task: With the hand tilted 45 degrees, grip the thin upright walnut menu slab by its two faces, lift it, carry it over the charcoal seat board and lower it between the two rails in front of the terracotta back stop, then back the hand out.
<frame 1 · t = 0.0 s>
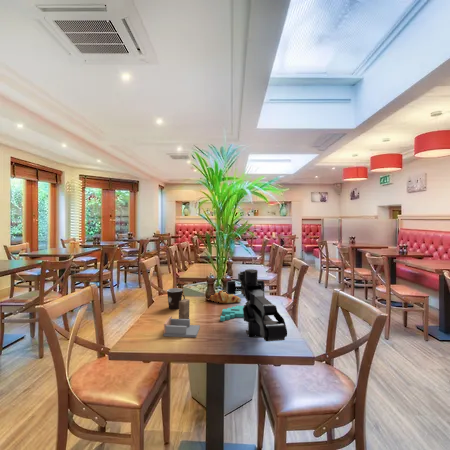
hand: (241, 283, 149), 17 cm above the table, tool horizontal, fingers open, 9 cm apart
croissant: (223, 302, 173), on the table
coffee mug: (175, 308, 158), on the table
seat: (182, 331, 126), on the table
alien figure: (241, 316, 149), on the table
menu block: (183, 323, 136), on the table
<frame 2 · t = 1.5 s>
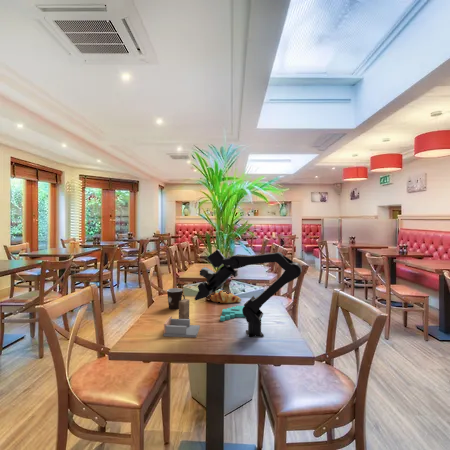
hand: (199, 297, 133), 13 cm above the table, tool tilted 45°, fingers open, 9 cm apart
nothing on the table moved.
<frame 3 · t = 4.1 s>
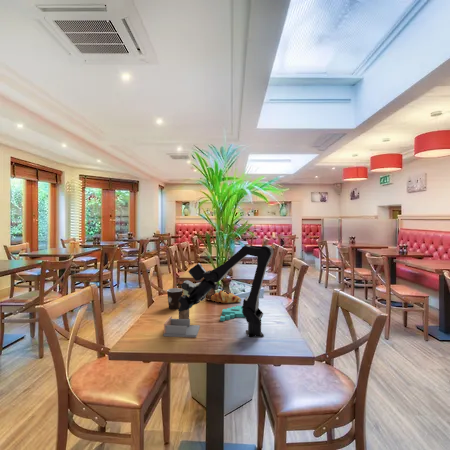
hand: (181, 309, 136), 7 cm above the table, tool tilted 45°, fingers closed on menu block, 5 cm apart
menu block: (183, 323, 136), on the table, touching gripper
everything else where it was.
when the fingers open (8 cm above the table, at t = 8.1 s): menu block stays where it is, resting on seat.
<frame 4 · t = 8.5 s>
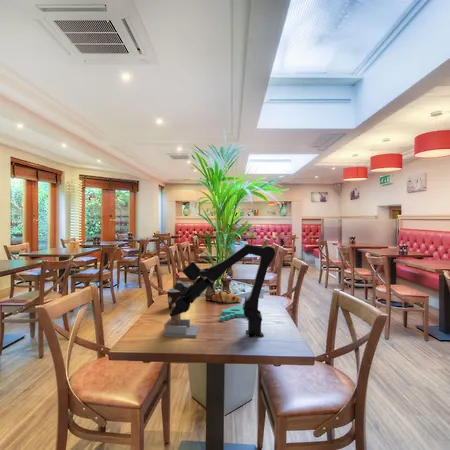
hand: (172, 312, 126), 9 cm above the table, tool tilted 45°, fingers open, 9 cm apart
menu block: (175, 329, 126), point 1 cm above the table, touching seat
everything else where it was.
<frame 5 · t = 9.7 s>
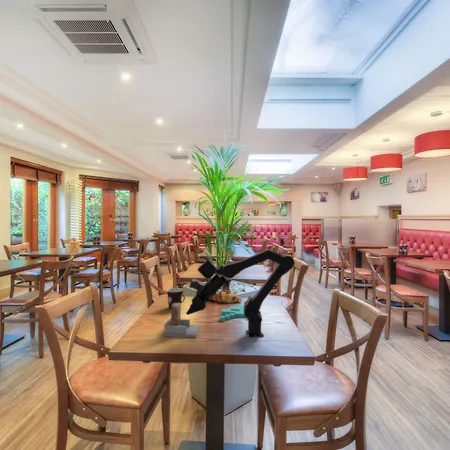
hand: (188, 310, 126), 9 cm above the table, tool tilted 45°, fingers open, 9 cm apart
nothing on the table moved.
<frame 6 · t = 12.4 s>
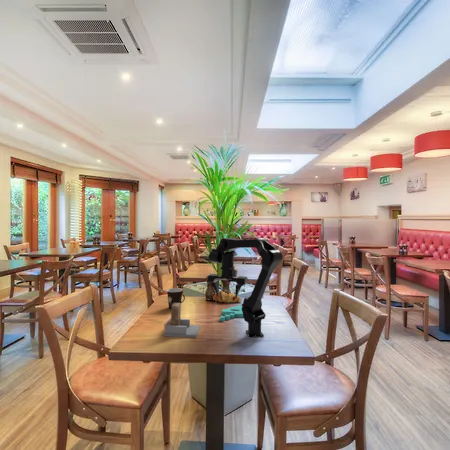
hand: (227, 297, 135), 13 cm above the table, tool pointing down, fingers open, 9 cm apart
at the end: menu block inside the target area (0.0 cm from its centre), point 1.0 cm above the table; menu block tilted 0°; the gripper is holding nothing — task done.
